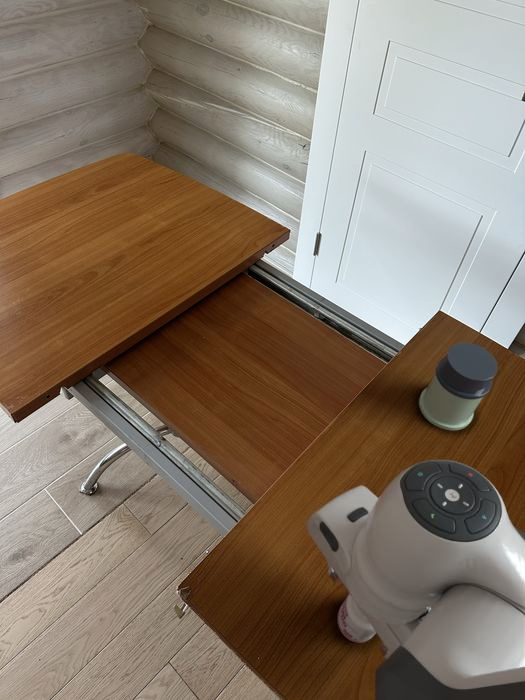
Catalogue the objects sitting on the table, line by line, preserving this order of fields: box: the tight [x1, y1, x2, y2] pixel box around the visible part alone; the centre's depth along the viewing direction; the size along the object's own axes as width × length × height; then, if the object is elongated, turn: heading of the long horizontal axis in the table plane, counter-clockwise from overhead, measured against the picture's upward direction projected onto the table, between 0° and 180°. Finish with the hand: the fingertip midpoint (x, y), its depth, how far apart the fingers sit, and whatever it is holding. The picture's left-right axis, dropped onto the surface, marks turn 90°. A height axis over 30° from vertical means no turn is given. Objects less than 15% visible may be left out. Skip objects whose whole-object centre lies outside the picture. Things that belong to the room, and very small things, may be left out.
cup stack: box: [418, 342, 499, 431], centre depth 81 cm, size 9×9×12 cm
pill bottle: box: [337, 592, 377, 643], centre depth 59 cm, size 5×5×8 cm
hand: (360, 610), depth 60 cm, fingers open, 8 cm apart
